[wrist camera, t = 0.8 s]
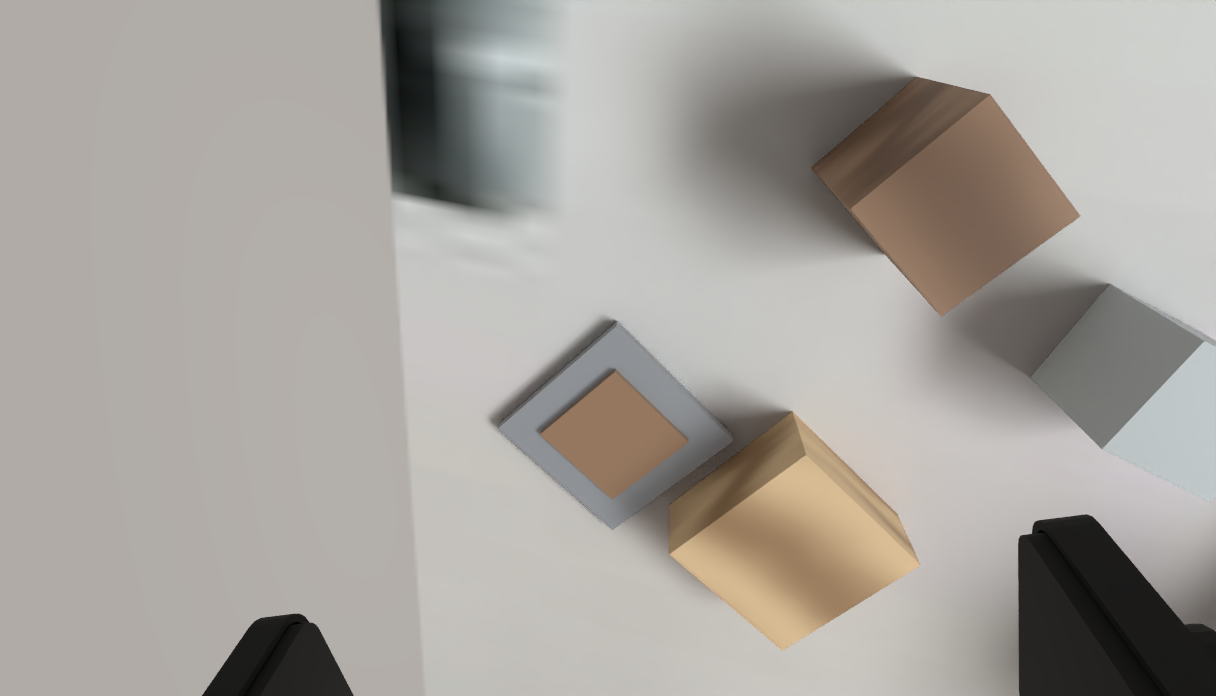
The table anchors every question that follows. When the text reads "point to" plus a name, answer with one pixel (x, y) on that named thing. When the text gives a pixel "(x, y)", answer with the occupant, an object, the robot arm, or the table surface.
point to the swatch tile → (615, 428)
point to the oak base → (788, 534)
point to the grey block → (1140, 389)
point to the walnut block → (946, 189)
